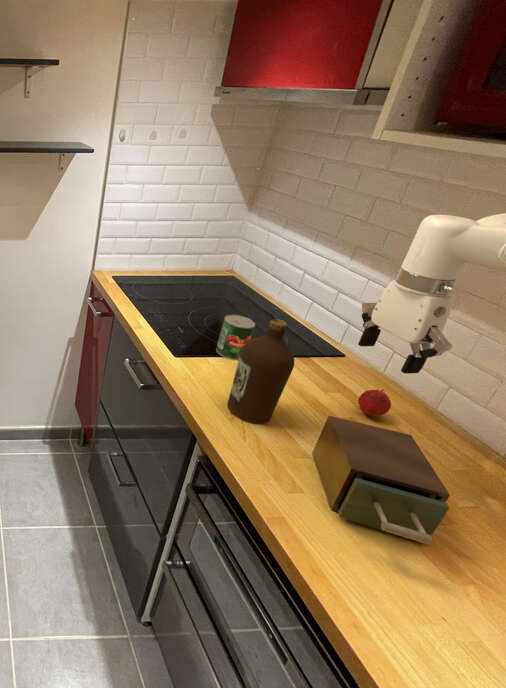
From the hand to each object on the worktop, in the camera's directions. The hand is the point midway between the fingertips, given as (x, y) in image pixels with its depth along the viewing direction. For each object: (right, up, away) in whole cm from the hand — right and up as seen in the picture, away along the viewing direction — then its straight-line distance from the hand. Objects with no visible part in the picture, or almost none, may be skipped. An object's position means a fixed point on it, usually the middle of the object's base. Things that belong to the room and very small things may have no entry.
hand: (386, 358), depth 91 cm
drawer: (-10, -27, -8) cm, 30 cm away
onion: (+13, -17, +18) cm, 28 cm away
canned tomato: (-7, -5, +43) cm, 44 cm away
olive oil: (-16, -16, +19) cm, 30 cm away
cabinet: (-7, -26, -3) cm, 27 cm away
